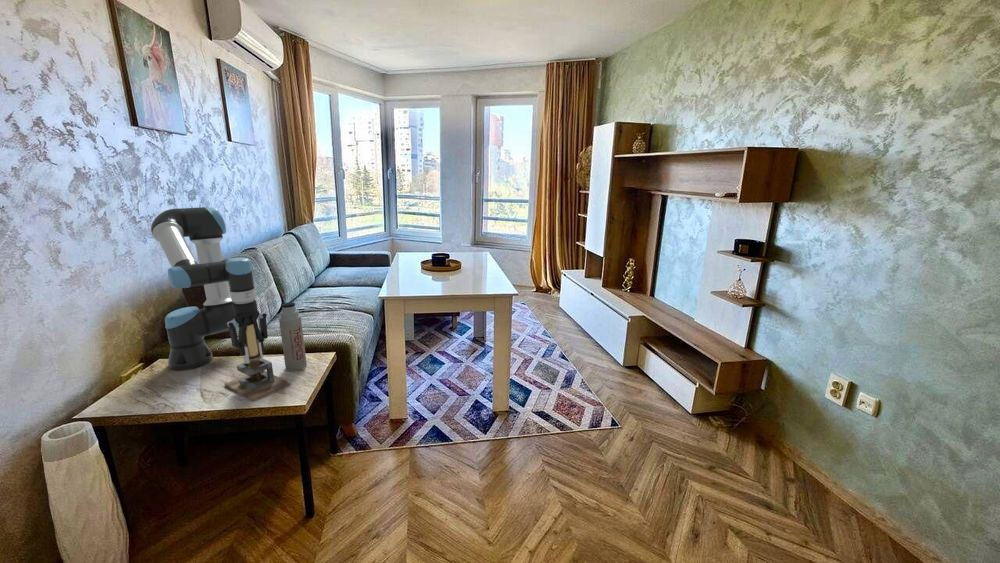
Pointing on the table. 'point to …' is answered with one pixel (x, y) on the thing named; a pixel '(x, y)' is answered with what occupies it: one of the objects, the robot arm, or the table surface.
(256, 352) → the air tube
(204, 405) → the table surface
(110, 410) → the table surface
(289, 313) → the thermos bottle
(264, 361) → the collar stand
